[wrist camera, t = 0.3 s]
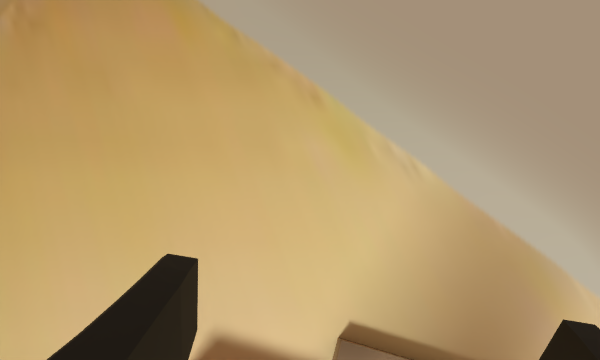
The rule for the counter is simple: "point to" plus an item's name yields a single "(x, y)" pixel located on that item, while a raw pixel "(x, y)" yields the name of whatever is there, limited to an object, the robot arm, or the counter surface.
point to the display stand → (361, 352)
